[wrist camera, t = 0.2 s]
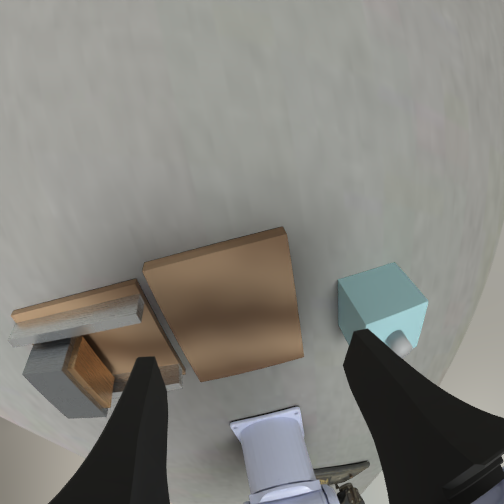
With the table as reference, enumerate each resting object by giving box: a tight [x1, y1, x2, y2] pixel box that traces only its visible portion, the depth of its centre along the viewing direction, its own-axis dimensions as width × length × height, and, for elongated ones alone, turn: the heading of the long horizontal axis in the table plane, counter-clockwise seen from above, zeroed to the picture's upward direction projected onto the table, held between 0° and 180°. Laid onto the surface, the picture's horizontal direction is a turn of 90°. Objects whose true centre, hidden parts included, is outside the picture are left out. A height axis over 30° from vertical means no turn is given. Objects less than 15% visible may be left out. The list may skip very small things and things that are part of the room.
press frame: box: [8, 227, 304, 398], centre depth 21 cm, size 12×22×3 cm, turn 101°
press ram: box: [23, 336, 115, 418], centre depth 19 cm, size 6×5×4 cm
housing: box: [338, 262, 428, 358], centre depth 21 cm, size 5×5×6 cm
